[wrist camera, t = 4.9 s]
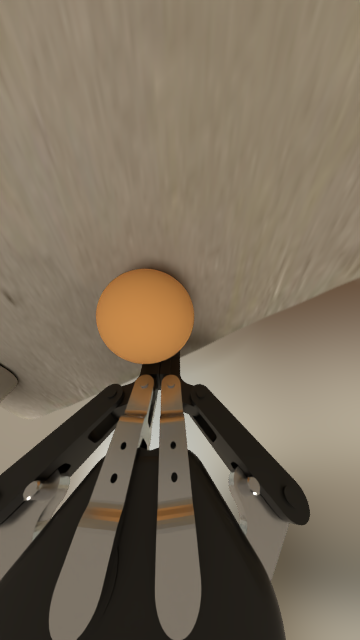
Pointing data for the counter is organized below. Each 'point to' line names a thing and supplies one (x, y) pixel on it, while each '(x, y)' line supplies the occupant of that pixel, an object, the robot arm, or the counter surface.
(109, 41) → the counter surface
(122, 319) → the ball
